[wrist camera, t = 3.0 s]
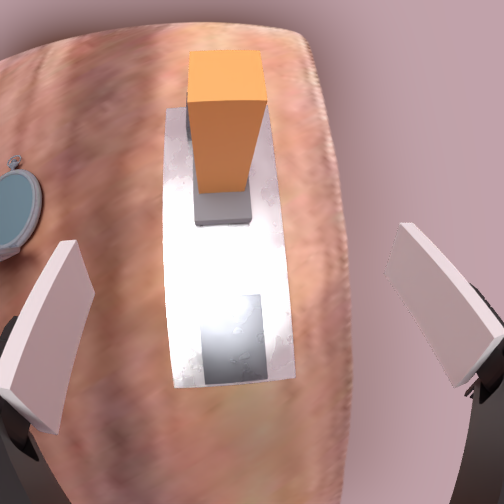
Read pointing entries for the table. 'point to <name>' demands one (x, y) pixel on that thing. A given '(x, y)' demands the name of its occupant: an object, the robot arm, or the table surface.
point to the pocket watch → (17, 208)
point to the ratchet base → (224, 274)
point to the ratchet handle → (224, 131)
